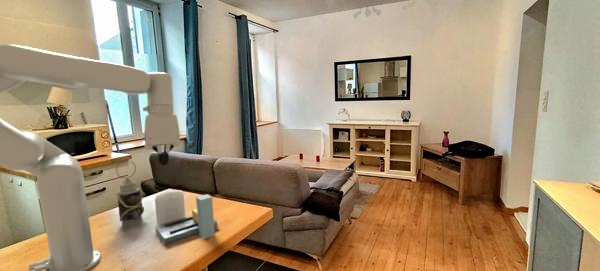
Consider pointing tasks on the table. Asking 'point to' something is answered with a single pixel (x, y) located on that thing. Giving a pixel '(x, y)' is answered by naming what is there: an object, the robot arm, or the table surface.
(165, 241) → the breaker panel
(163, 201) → the photo printer
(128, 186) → the lantern
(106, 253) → the table surface
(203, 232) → the post
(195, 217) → the block
